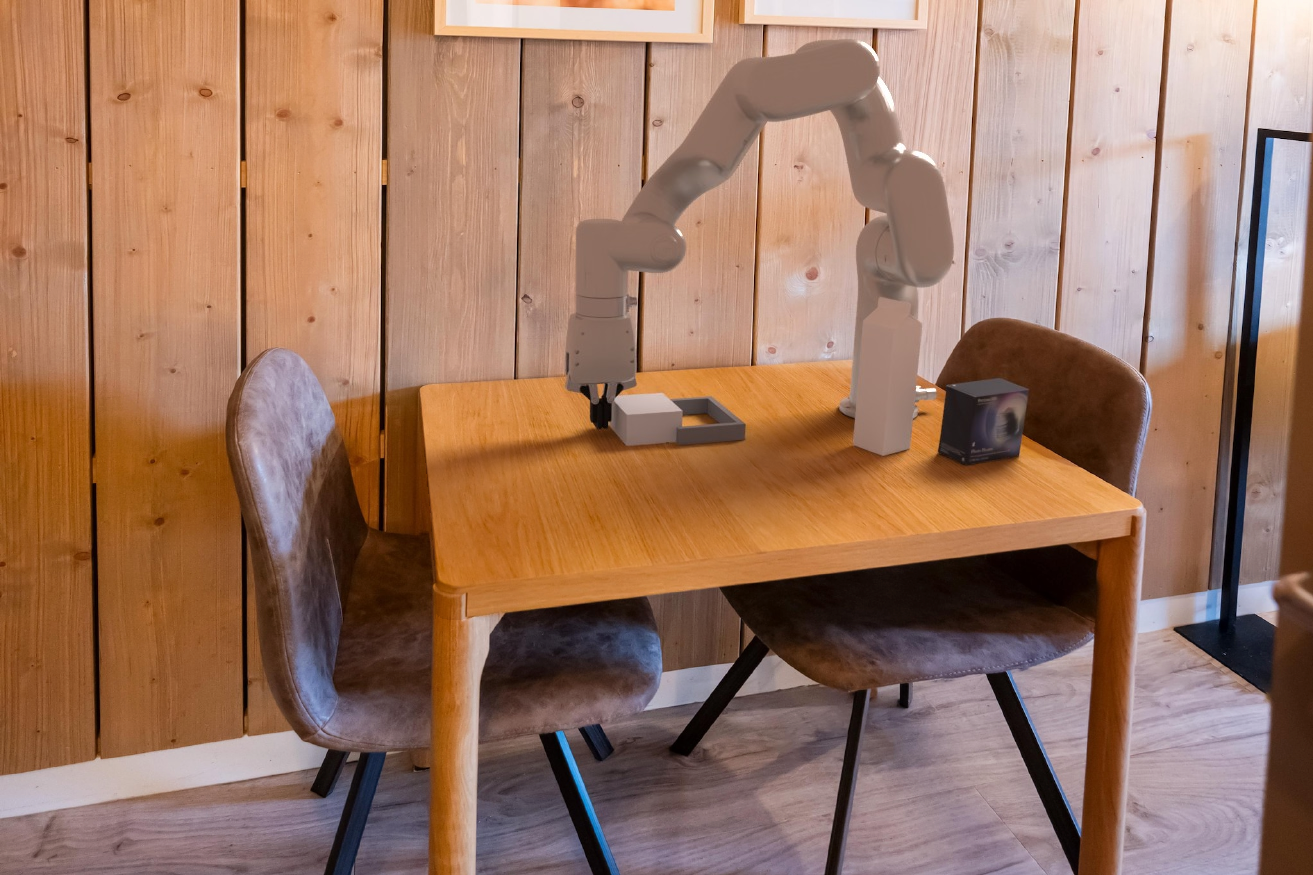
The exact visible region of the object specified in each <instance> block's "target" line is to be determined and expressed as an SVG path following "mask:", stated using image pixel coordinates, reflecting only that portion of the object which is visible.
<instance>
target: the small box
mask: <svg viewBox="0 0 1313 875" xmlns="http://www.w3.org/2000/svg"><path fill="white" fill-rule="evenodd" d="M1029 391H1030V389H1029V388H1026V387H1025V386H1021V385H1018V384H1016V383H1013V382H1011V381H1008V380H1006V379H1003V378H1001V377H997V378H995V377H994V378H989V379H981V380H975V381H974V380H973V381H967V382H959V383H950V384H946V385H945V396H944V403H943V404H944V405H943V412H942V419H941V420H942V421H941V426H940V434H939V442H938V449H937V453H938V454H940V455H942V456H944V457H946V458H949V459H951V460H952V461H953V460H954V461H955V462H958V463H960V464H962V465H964V466H969V465H976V464H981V463H986V462H987V463H988V462H993V461H998V460H1004V459H1011V458H1017V457H1020V453H1021V446H1022V441H1023V440H1022V438H1023V433H1024V427H1025V426H1024V425H1025V418H1026V412H1027V405H1028V398H1029Z"/></svg>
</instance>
